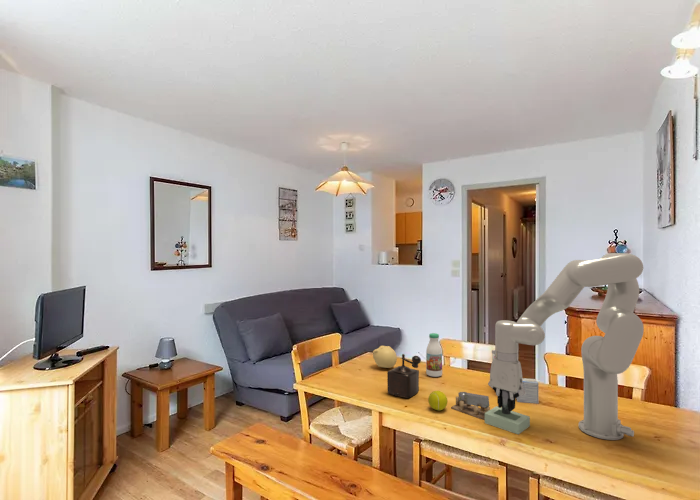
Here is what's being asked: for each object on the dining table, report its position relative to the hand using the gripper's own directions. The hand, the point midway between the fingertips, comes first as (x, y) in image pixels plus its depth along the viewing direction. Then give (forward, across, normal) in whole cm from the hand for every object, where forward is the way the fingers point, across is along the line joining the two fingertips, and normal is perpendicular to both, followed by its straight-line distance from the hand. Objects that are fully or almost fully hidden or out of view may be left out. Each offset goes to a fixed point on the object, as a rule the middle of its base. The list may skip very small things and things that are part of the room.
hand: (506, 407), depth 133 cm
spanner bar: (+3, -12, +1) cm, 13 cm away
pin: (+2, 0, 0) cm, 2 cm away
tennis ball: (+6, -24, -7) cm, 25 cm away
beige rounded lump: (+7, -74, +18) cm, 77 cm away
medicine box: (+6, -4, +26) cm, 27 cm away
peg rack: (+6, -14, +1) cm, 15 cm away
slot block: (+6, 0, 0) cm, 6 cm away
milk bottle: (+6, -49, +26) cm, 56 cm away
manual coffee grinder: (+7, -42, -3) cm, 42 cm away
